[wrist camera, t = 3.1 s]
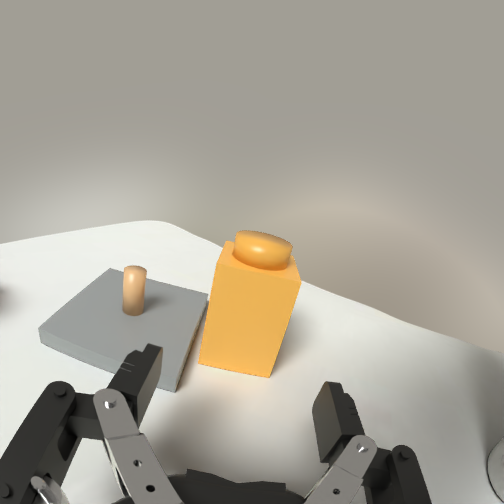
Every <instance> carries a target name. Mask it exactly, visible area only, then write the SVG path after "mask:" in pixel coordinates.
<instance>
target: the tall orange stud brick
mask: <svg viewBox="0 0 504 504" xmlns="http://www.w3.org/2000/svg"><path fill="white" fill-rule="evenodd" d="M291 251H292V245H291V244H290V243H289V242H287V241H286V240H284V239H281V238H279V237H276V236H273V235H270V234H267V233H262V232H256V231H239V232H237V234H236V238H235V242H231V241H226V243H225V246H224V248H223V250H222V252H221V254H220V257H219V259H218V261H217V264H216V269H215V274H214V279H213V284H212V290H211V295H210V300H209V305H208V311H207V316H206V321H205V327H204V332H203V338H202V343H201V349H200V355H199V361H198V363H199V364H203V365H207V366H212V367H216V368H221V369H225V370H230V371H235V372H240V373H245V374H250V375H255V376H261V377H267V378H269V377H270V374H271V371H272V369H273V366H274V363H275V360H276V357H277V355H278V352H279V349H280V346H281V343H282V340H283V337H284V334H285V331H286V328H287V325H288V322H289V319H290V316H291V313H292V310H293V307H294V304H295V301H296V298H297V295H298V292H299V289H300V285H301V279H300V276H299V273H298V270H297V267H296V264H295V260H294V257H293V256H291V255H290V254H291Z"/></svg>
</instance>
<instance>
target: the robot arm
mask: <svg viewBox="0 0 504 504" xmlns="http://www.w3.org/2000/svg"><path fill="white" fill-rule="evenodd" d="M162 357H163V347H160V346H157V345H154V344H150V343H148V344H147V345H146V347H145V349H144V350H143V352H141V351H138V350H134V351H132V352H131V353H129V354H128V355H127V356H126V358H125V359H124V361H123V363H122V364H121V366H120V368H119V369H118V371H117V372H116V374H115V375H114V377H113V379H112V380H111V382H110V383H109V385H108V387H107V388H106V389H102V390H99V391H98V392H96V394H83V393H76V392H75V390H74V388H73V387H72V386H71V385H70V384H68V383H66V382H63V381H55V382H52V383H50V384H49V385H48V386H47V387H46V388H45V390H44V391H43V393H42V394H41V396H40V397H39V398H38V400H37V401H36V403H35V404H34V406H33V407H32V409H31V410H30V412H29V413H28V415H27V416H26V418H25V420H24V421H23V423H22V424H21V426H20V427H19V429H18V431H17V432H16V434H15V435H14V437H13V439H12V440H11V442H10V444H9V445H8V447H7V449H6V450H5V452H4V454H3V455H2V457H1V459H0V504H69V501H68V498H67V497H66V495H65V494H64V492H63V491H62V489H61V485H62V483H63V480H64V478H65V476H66V473H67V471H68V469H69V466H70V464H71V462H72V459H73V457H74V455H75V453H76V450H77V448H78V446H79V444H80V442H81V439H82V438H89V439H97V440H101V441H102V443H103V446H104V449H105V452H106V454H107V457H108V460H109V462H110V465H111V467H112V470H113V472H114V475H115V478H116V480H117V483H118V485H119V488H120V490H121V492H122V494H123V496H124V498H123V499H121V500H119V501H116V502H114V503H112V504H350V502H351V501H352V499H353V497H354V496H355V494H356V493H357V491H358V489H359V488H360V486H364V489H365V495H366V501H367V504H432V503H431V500H430V496H429V493H428V490H427V487H426V484H425V481H424V478H423V475H422V472H421V469H420V466H419V463H418V460H417V457H416V455H415V453H414V451H413V450H412V449H411V448H409V447H408V446H405V445H398V446H396V447H394V449H393V450H392V451H390V450H386V449H381V448H378V447H377V445H376V443H375V442H374V441H373V440H372V439H371V438H369V437H367V436H365V433H364V430H363V427H362V424H361V421H360V418H359V415H358V412H357V409H356V406H355V403H354V400H353V399H352V398H351V397H350V395H349V394H348V393H344V391H343V388H342V385H341V383H336V382H328V381H326V382H325V383H324V384H323V386H322V388H321V390H320V392H319V394H318V396H317V398H316V399H315V401H314V404H313V408H312V414H313V420H314V426H315V432H316V438H317V444H318V450H319V456H320V462H321V463H329V468H328V469H327V470H326V471H325V473H324V474H323V475H322V477H321V478H320V479H319V480H318V482H317V483H316V484H315V485H314V487H313V488H312V489H311V490H310V491H309V493H308V494H307V495H306V496H305V497H304V498H303V497H302V496H300V495H298V494H296V493H294V492H292V491H289V490H286V484H285V483H276V482H265V481H260V482H249V483H235V482H232V481H229V480H226V479H224V478H221V477H219V476H216V475H214V474H210V473H205V472H200V471H196V470H191V469H187V473H186V474H176V475H169V476H166V474H165V473H164V471H163V469H162V467H161V465H160V464H159V462H158V460H157V458H156V456H155V454H154V452H153V450H152V448H151V447H150V445H149V443H148V441H147V439H146V437H145V435H144V434H143V433H140V432H139V430H138V429H139V426H140V424H141V422H142V419H143V417H144V414H145V412H146V410H147V407H148V405H149V403H150V400H151V398H152V396H153V393H154V391H155V389H156V386H157V384H158V382H159V379H160V375H161V368H162ZM488 473H489V478H490V481H491V483H492V486H493V488H494V490H495V492H496V493H497V495H498V496H499V497H500V498H501V500H502V501H503V502H504V437H503V438H502V439H501V441H500V442H499V443H498V444H497V445H496V446H495V447H494V448H493V450H492V451H491V453H490V455H489V459H488Z"/></svg>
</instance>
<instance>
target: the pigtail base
mask: <svg viewBox="0 0 504 504" xmlns="http://www.w3.org/2000/svg"><path fill="white" fill-rule="evenodd" d="M146 273H147V271H146V269H145V268H143V267H140V266H127V267H125V268H124V272H121V271H118V270H114V269H111V268H110V269H108V270H107V271H106V272H104V273H103V274H102V275H101V276H99V277H98V278H97V279H96V280H94V281H93V282H92V283H91V284H89V285H88V286H87V287H86V288H85V289H83V290H82V291H81V292H80V293H78V294H77V295H76V296H75V297H74V298H72V299H71V300H70V301H69V302H68V303H66V304H65V305H64V306H63V307H62V308H61V309H59V310H58V311H57V312H56V313H55V314H54V315H52V316H51V317H50V318H49V319H48V320H47V321H46V322H44V323H43V324H42V325H41V326H40V327H39V328H38V329H39V335H40V340H41V343H43V344H45V345H47V346H49V347H51V348H53V349H55V350H58V351H60V352H62V353H64V354H66V355H69V356H71V357H73V358H76V359H78V360H80V361H83V362H85V363H88V364H90V365H93V366H95V367H98V368H101V369H103V370H106V371H109V372H111V373H114V374H116V372H117V371H118V369H119V368H120V366H121V364H122V363H123V361H124V359H125V358H126V356H127V355H128V354H129V353H131V352H132V351H134V350H138V351H141V352H143V350H144V349H145V347H146V345H147V344H148V343H150V344H154V345H157V346H160V347H163V357H162V368H161V375H160V379H159V382H158V384H157V386H156V387H157V388H160V389H164V390H168V391H171V392H175V391H176V388H177V385H178V382H179V380H180V377H181V374H182V371H183V368H184V365H185V363H186V360H187V357H188V354H189V351H190V349H191V346H192V343H193V340H194V337H195V335H196V332H197V329H198V326H199V324H200V321H201V318H202V315H203V313H204V310H205V307H206V304H207V298H208V294H206V293H202V292H198V291H194V290H190V289H186V288H182V287H178V286H174V285H170V284H166V283H162V282H158V281H155V280H151V279H147V278H146Z"/></svg>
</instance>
